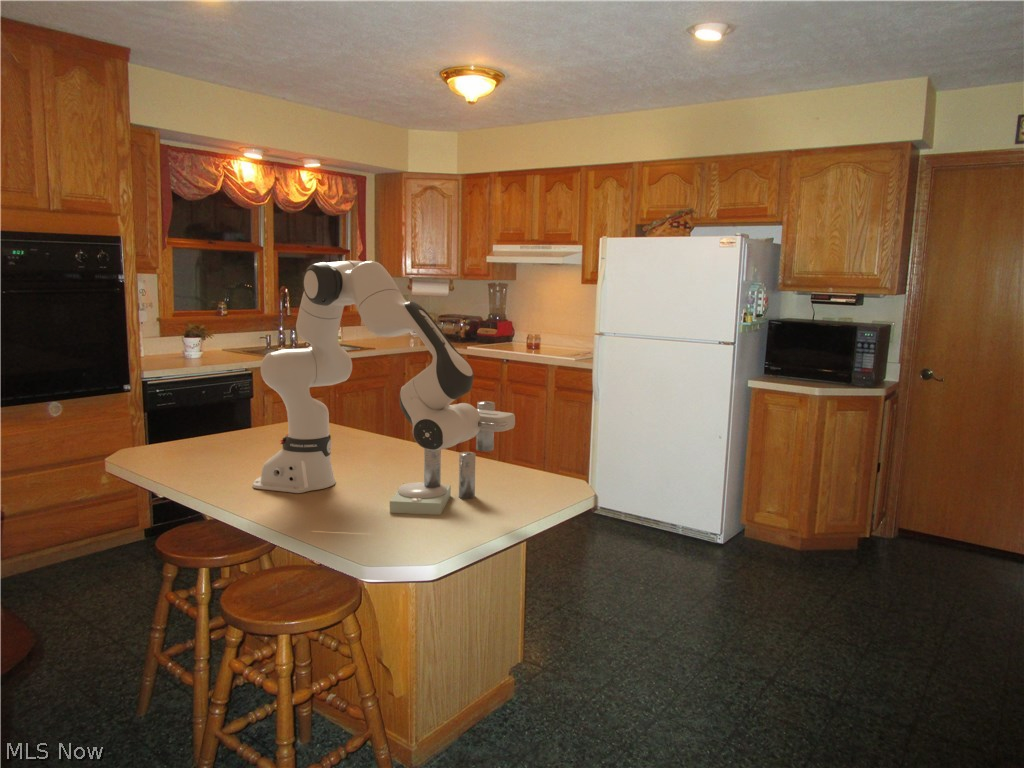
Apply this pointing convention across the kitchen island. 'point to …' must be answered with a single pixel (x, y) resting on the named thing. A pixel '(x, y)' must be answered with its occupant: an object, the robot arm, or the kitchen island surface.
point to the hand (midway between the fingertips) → (487, 413)
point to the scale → (420, 499)
